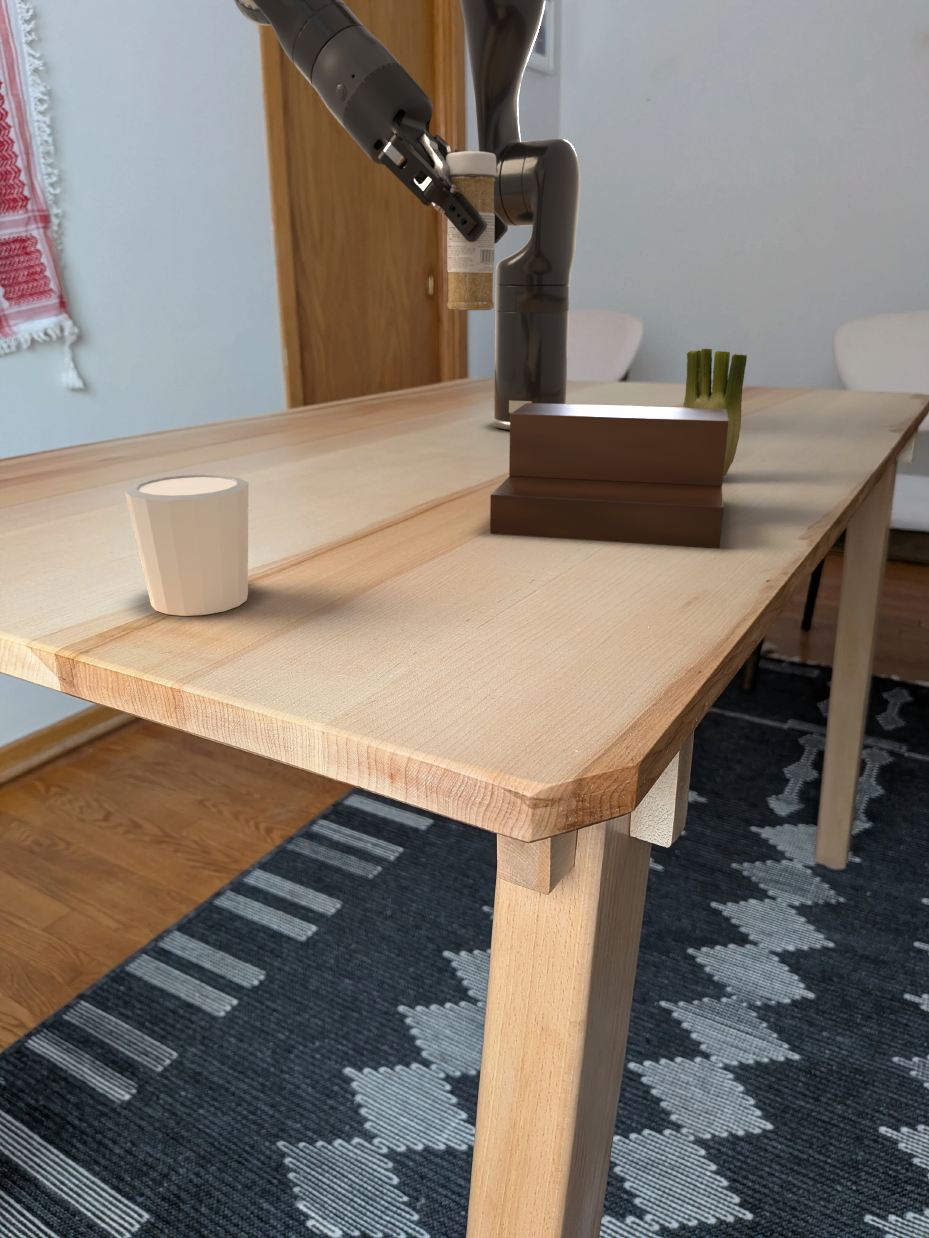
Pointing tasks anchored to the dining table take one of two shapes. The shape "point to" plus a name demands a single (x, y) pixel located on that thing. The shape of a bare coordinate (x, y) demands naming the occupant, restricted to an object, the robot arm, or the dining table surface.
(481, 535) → the dining table surface
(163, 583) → the cream cup
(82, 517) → the dining table surface
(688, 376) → the fennel bulb
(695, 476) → the step rack
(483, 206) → the spice jar
